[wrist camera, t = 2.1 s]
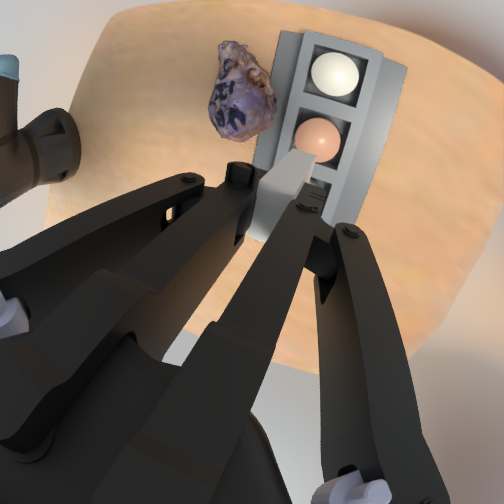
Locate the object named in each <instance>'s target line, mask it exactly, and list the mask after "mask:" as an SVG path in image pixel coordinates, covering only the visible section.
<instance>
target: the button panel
mask: <svg viewBox="0 0 504 504" xmlns="http://www.w3.org/2000/svg"><path fill="white" fill-rule="evenodd" d="M332 52H334V53H340V54H343V55H345V56H347V57H348V58H350V59H351V60H352V61H353V62H354V64H355V65H356V67H357V69H358V73H359V80H358V83H357V85H356V87H355V88H354V90H353V91H351V92H350V93H348V94H346V95H343V96H331V95H328V94H326V93H324V92H322V91H321V90H320V89H319V88H318V87H317V86H316V85H315V83H314V82H313V79H312V75H311V70H312V66H313V63H314V62H315V60H316V59H317V58H318V57H320V56H321V55H323V54H326V53H332ZM407 68H408V67H406V66H404V65H402V64H399V63H397V62H394V61H392V60H389V59H387V58H384V57H383V52H380V51H377V50H375V49H372V48H369V47H366V46H363V45H360V44H356V43H353V42H350V41H346V40H343V39H339V38H336V37H332V36H328V35H324V34H319V33H315V32H310V31H306V30H305V33H304V34H299V33H294V32H288V31H282V30H281V34H280V38H279V43H278V47H277V52H276V56H275V61H274V65H273V70H272V74H271V79H270V82H271V86H272V87H273V88H274V89H275V97H276V99H277V102H276V106H277V112H276V113H275V114H274V118H273V121H272V123H271V125H270V128H269V129H266V130H265V131H264V132H263V133H262V134H261V133H259V136H258V141H257V145H256V150H255V155H254V160H253V165H254V166H256V167H257V168H259V169H263V170H266V171H270V170H271V169H272V168H273V167H274V166H275V165H276V164H277V163H278V162H279V161H280V160H281V159H282V158H283V157H284V156H285V155H286V154H287V153H288V152H290V151H291V150H292V149H293V148H294V149H297V147H296V144H295V134H296V131H297V129H298V128H299V126H300V125H301V124H303V123H304V122H305V121H307V120H309V119H311V118H314V117H323V118H327V119H329V120H331V121H332V122H333V123H334V124H335V125H336V126H337V127H338V129H339V131H340V135H341V142H340V146H339V150H338V152H337V153H336V155H335V156H334V157H333V158H332V159H330V160H328V161H326V162H315V164H314V167H313V171H312V174H311V178H310V179H312V180H314V181H315V182H316V183H317V184H318V185H319V186H320V187H321V188H323V189H324V190H325V192H326V196H325V199H324V203H323V206H322V210H321V215H320V216H321V218H322V219H323V220H324V221H325V222H326V223H327V224H329V225H330V226H332V227H335V225H336V224H337V223H341V222H344V223H349V224H355V222H356V219H357V217H358V214H359V212H360V210H361V207H362V205H363V202H364V200H365V197H366V194H367V192H368V189H369V187H370V184H371V181H372V179H373V176H374V173H375V171H376V168H377V165H378V162H379V160H380V157H381V154H382V151H383V148H384V145H385V142H386V139H387V136H388V133H389V130H390V127H391V124H392V121H393V118H394V114H395V111H396V108H397V104H398V101H399V98H400V94H401V90H402V87H403V83H404V80H405V76H406V72H407Z"/></svg>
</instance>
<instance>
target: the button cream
mask: <svg viewBox="0 0 504 504" xmlns="http://www.w3.org/2000/svg"><path fill="white" fill-rule="evenodd" d="M311 75H312V79H313V82H314V83H315V85H316V86H317V87H318V88H319V89H320V90H321V91H322V92H324V93H326V94H328V95H331V96H343V95H346V94H348V93H350V92H351V91H353V90H354V88H355V87H356V85H357V83H358V80H359V73H358V69H357V67H356V65H355V64H354V62H353V61H352V60H351V59H350V58H348V57H347V56H345V55H343V54H340V53H334V52H332V53H326V54H323V55H321V56H320V57H318V58H317V59H316V60H315V62H314V63H313V66H312V70H311Z"/></svg>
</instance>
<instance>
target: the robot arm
mask: <svg viewBox="0 0 504 504" xmlns="http://www.w3.org/2000/svg"><path fill="white" fill-rule="evenodd" d="M18 74H19V60H18V58H17V57H16V56H14V55H0V208H1V207H3V206H5V205H6V204H8V203H9V202H11V201H12V200H14V199H16V198H17V197H19V196H20V195H22V194H24V193H25V192H27V191H29V190H30V189H32V188H34V187H36V186H38V185H45V184H52V183H60V182H63V181H65V180H67V179H69V178H71V177H72V176H73V175H74V174H75V173H76V171H77V169H78V166H79V162H80V154H81V148H80V139H79V134H78V131H77V128H76V125H75V123H74V121H73V119H72V117H71V116H70V115H69V113H68V112H66V111H65V110H64V109H61V108H54V109H50V110H47V111H45V112H43V113H42V114H41V115H39V116H38V117H36V118H35V119H34V120H33V121H31V122H30V123H29V124H27V125H26V126H25V127H24V128H22V129H20V130H18V129H17V127H18V126H17V99H18V82H19V78H18V77H19V76H18ZM316 157H317V155H314V154H310V153H307V152H304V151H301V150H298V149H294V148H293V149H292V150H291V151H290V152H288V153H287V154H286V155H285V156H284V157H283V158H282V159H281V160H280V161H279V162H278V163H277V164H276V165H275V166H274V167H273V168H272V169H271V170H270V171H266V170H263V169H259V168H257V167H256V166H254V165H252V164H249V163H245V162H229V163H228V164H227V170H226V176H225V181H224V182H223V183H222V184H220V185H219V186H218V187H217V188H215V187H207V186H204V184H205V179H204V177H202V176H201V175H198V174H196V173H192V172H188V173H181V174H177V175H174V176H171V177H169V178H166V179H163V180H160V181H157V182H155V183H152V184H149V185H147V186H144V187H141V188H139V189H136V190H134V191H131V192H128V193H126V194H123V195H121V196H118V197H116V198H114V199H111V200H109V201H106V202H104V203H102V204H99V205H97V206H95V207H93V208H90V209H88V210H86V211H84V212H81V213H79V214H77V215H75V216H73V217H71V218H68V219H66V220H64V221H62V222H60V223H58V224H56V225H54V226H52V227H50V228H48V229H46V230H44V231H42V232H40V233H38V234H37V235H34V236H32V237H31V238H29V239H27V240H25V241H23V242H21V243H20V244H18V245H16V246H14V247H12V248H10V249H7V250H4V251H1V252H0V504H292V501H291V499H290V496H289V493H288V491H287V488H286V486H285V483H284V480H283V478H282V475H281V472H280V470H279V467H278V464H277V462H276V459H275V456H274V453H273V450H272V448H271V445H270V442H269V439H268V437H267V435H266V433H265V431H264V429H263V427H262V425H261V424H260V423H259V422H258V420H257V418H256V417H255V416H254V415H253V414H252V413H251V411H250V410H251V408H252V406H253V403H254V401H255V398H256V396H257V394H258V391H259V388H260V386H261V384H262V381H263V379H264V376H265V374H266V371H267V369H268V366H269V364H270V361H271V359H272V356H273V353H274V351H275V348H276V343H277V340H278V337H279V335H280V332H281V329H282V327H283V324H284V321H285V319H286V316H287V313H288V310H289V308H290V305H291V302H292V299H293V296H294V294H295V291H296V288H297V285H298V282H299V279H300V276H301V273H302V270H303V267H305V268H306V269H308V270H310V271H311V272H313V273H314V274H315V276H314V291H315V303H316V317H317V332H318V350H319V372H320V408H321V409H320V411H321V465H322V471H323V478H324V482H325V483H324V484H322V485H321V486H320V487H319V488H318V489H317V490H316V491H315V493H314V495H313V496H312V500H311V504H450V498H449V495H448V492H447V489H446V487H445V485H444V482H443V480H442V477H441V475H440V472H439V470H438V468H437V466H436V463H435V461H434V459H433V457H432V454H431V452H430V450H429V447H428V445H427V443H426V441H425V439H424V437H423V434H422V429H421V423H420V417H419V411H418V406H417V401H416V396H415V391H414V386H413V382H412V377H411V373H410V369H409V365H408V361H407V357H406V353H405V349H404V345H403V342H402V338H401V334H400V331H399V327H398V324H397V321H396V317H395V314H394V311H393V308H392V305H391V302H390V299H389V295H388V292H387V290H386V287H385V284H384V281H383V278H382V275H381V272H380V270H379V267H378V264H377V262H376V259H375V256H374V254H373V251H372V248H371V246H370V243H369V241H368V238H367V236H366V234H365V233H364V232H363V231H362V230H361V229H360V228H359V227H357V226H356V225H354V224H349V223H344V222H341V223H337V224H336V225H335V227H332V226H330V225H329V224H327V223H326V222H325V221H324V220H323V219H322V218H321V216H320V215H321V210H322V206H323V203H324V199H325V196H326V192H325V190H324V189H323V188H321V187H318V186H315V185H312V184H309V181H310V178H311V174H312V171H313V167H314V164H315V161H316ZM171 207H172V219H170V220H167V219H166V210H168V209H169V208H171ZM248 228H249V231H248V236H247V237H249V238H252V239H255V240H257V241H260V242H263V243H265V244H264V246H263V247H262V249H261V251H260V252H259V254H258V256H257V257H256V259H255V261H254V262H253V264H252V266H251V267H250V269H249V271H248V272H247V274H246V276H245V277H244V279H243V281H242V282H241V284H240V286H239V287H238V289H237V291H236V292H235V294H234V295H233V297H232V299H231V300H230V302H229V304H228V305H227V307H226V309H225V310H224V312H223V314H222V315H221V317H220V318H219V320H218V321H217V322H215V321H212V322H210V323H209V324H208V326H207V327H206V328H205V330H204V331H203V333H202V334H201V336H200V338H199V339H198V341H197V342H196V344H195V345H194V347H193V349H192V350H191V352H190V353H189V355H188V357H187V358H186V360H185V361H184V363H183V364H182V366H176V365H172V364H168V363H164V362H162V359H163V357H164V355H165V353H166V352H167V350H168V349H169V347H170V346H171V344H172V343H173V341H174V340H175V338H176V337H177V336H178V334H179V333H180V331H181V330H182V328H183V327H184V325H185V324H186V323H187V321H188V320H189V318H190V317H191V315H192V314H193V313H194V311H195V310H196V308H197V307H198V305H199V304H200V303H201V301H202V300H203V298H204V297H205V295H206V294H207V293H208V291H209V290H210V288H211V287H212V285H213V284H214V283H215V281H216V280H217V278H218V277H219V276H220V274H221V273H222V271H223V270H224V268H225V267H226V266H227V264H228V263H229V261H230V260H231V259H232V257H233V256H234V254H235V253H236V252H237V250H238V249H239V247H240V246H241V245H242V243H243V241H244V237H245V233H246V231H247V229H248Z"/></svg>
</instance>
